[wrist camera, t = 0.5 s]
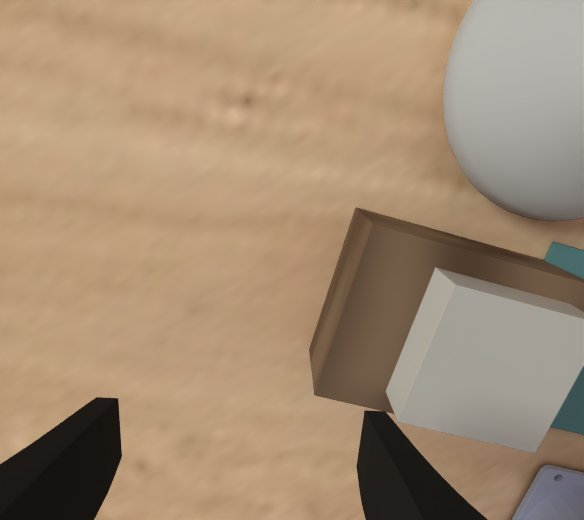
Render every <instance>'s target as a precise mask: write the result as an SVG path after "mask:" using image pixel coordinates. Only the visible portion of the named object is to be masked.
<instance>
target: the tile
mask: <svg viewBox="0 0 584 520" xmlns="http://www.w3.org/2000/svg"><path fill="white" fill-rule="evenodd" d="M583 366H584V312H583V311H581V310H580V309H578V308H576V307H574V306H573V305H571V304H569V303H565V302H562V301H558V300H554V299H551V298H547V297H543V296H539V295H536V294H532V293H528V292H525V291H521V290H517V289H514V288H510V287H506V286H502V285H499V284H495V283H491V282H488V281H484V280H480V279H477V278H473V277H469V276H466V275H462V274H458V273H454V272H451V271H447V270H443V269H440V268H436V267H435V270H434V272H433V275H432V277H431V280H430V282H429V285H428V287H427V290H426V292H425V295H424V297H423V300H422V302H421V305H420V307H419V310H418V312H417V315H416V317H415V320H414V322H413V324H412V327H411V329H410V332H409V334H408V337H407V339H406V342H405V344H404V347H403V349H402V352H401V354H400V357H399V359H398V362H397V364H396V367H395V369H394V372H393V374H392V377H391V379H390V382H389V384H388V387H387V389H386V394H387V396H388V399H389V401H390V404H391V406H392V409H393V411H394V414H395V416H396V419H397V421H398V422H400V423H404V424H409V425H413V426H417V427H422V428H426V429H430V430H435V431H439V432H443V433H448V434H452V435H457V436H461V437H465V438H470V439H474V440H478V441H483V442H487V443H491V444H496V445H500V446H504V447H509V448H513V449H518V450H522V451H526V452H531V453H536V451H537V449H538V447H539V446H540V444H541V442H542V440H543V438H544V437H545V435H546V433H547V431H548V429H549V428H550V426H551V424H552V422H553V420H554V418H555V417H556V415H557V413H558V411H559V409H560V408H561V406H562V404H563V402H564V400H565V399H566V397H567V395H568V393H569V391H570V390H571V388H572V386H573V384H574V382H575V380H576V379H577V377H578V375H579V373H580V371H581V370H582V368H583Z"/></svg>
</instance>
